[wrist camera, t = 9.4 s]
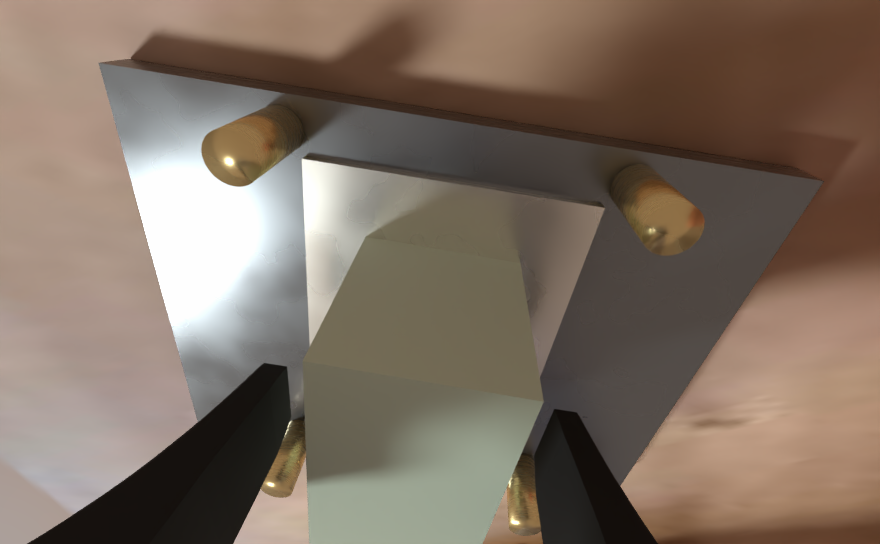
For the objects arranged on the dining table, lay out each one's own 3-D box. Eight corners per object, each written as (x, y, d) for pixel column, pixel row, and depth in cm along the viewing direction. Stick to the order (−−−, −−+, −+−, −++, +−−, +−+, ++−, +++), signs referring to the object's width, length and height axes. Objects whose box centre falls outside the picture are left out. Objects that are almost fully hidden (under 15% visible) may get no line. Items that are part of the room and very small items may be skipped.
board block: (520, 262, 12) (543, 401, 8) (473, 419, 16) (471, 570, 11) (365, 236, 12) (302, 361, 8) (355, 399, 16) (309, 543, 11)
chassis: (797, 168, 11) (914, 225, 8) (609, 470, 19) (634, 557, 16) (128, 58, 11) (-4, 76, 8) (211, 407, 18) (161, 483, 15)
